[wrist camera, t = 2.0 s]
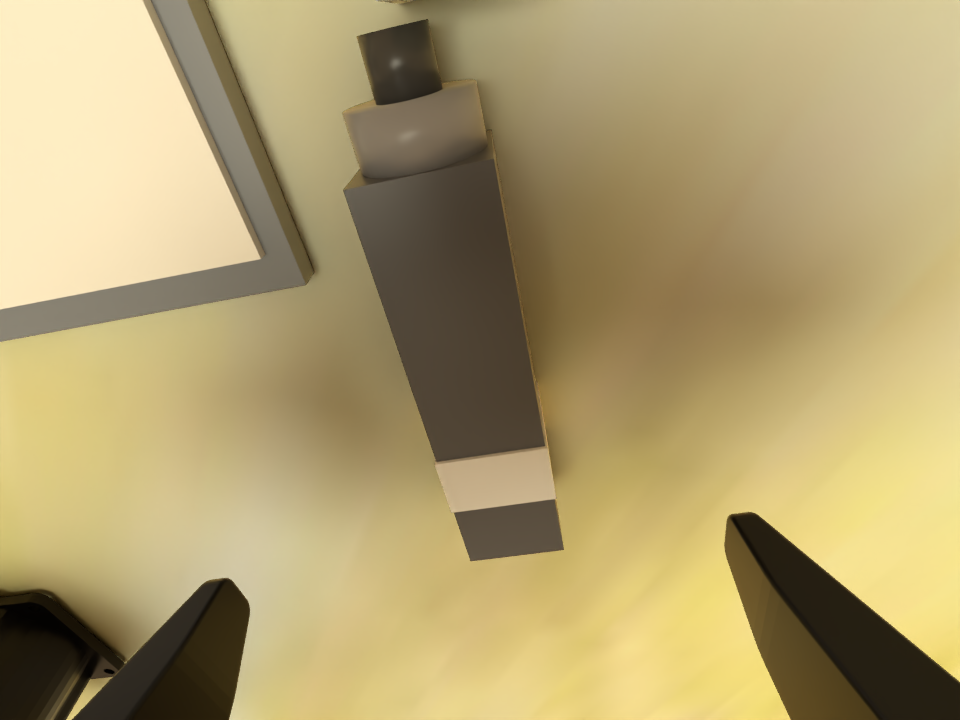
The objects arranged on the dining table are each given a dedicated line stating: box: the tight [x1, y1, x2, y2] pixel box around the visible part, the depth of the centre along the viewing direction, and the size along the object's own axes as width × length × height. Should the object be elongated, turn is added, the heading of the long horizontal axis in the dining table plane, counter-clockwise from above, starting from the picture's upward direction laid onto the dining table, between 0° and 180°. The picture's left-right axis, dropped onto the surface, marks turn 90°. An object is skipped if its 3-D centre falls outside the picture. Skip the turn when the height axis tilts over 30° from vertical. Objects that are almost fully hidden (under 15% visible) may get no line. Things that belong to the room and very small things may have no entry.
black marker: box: [342, 19, 564, 561], centre depth 14 cm, size 14×3×3 cm, turn 11°
